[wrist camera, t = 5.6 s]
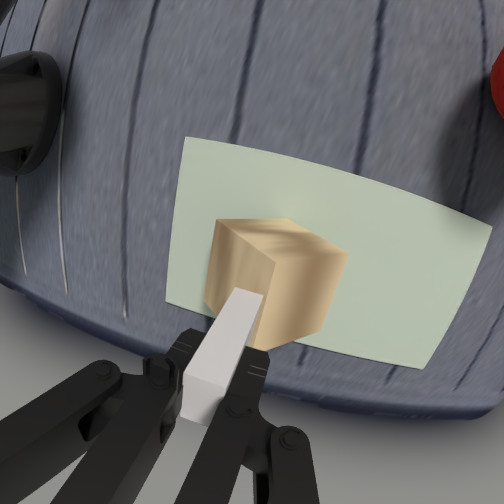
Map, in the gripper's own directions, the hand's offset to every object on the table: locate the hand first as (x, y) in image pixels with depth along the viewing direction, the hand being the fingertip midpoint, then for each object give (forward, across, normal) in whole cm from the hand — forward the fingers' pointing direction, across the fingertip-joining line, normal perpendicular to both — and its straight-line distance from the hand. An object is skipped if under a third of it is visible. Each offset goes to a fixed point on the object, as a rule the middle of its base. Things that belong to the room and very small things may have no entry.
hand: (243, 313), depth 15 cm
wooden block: (+6, -2, 0) cm, 7 cm away
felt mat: (+9, +5, 0) cm, 10 cm away
